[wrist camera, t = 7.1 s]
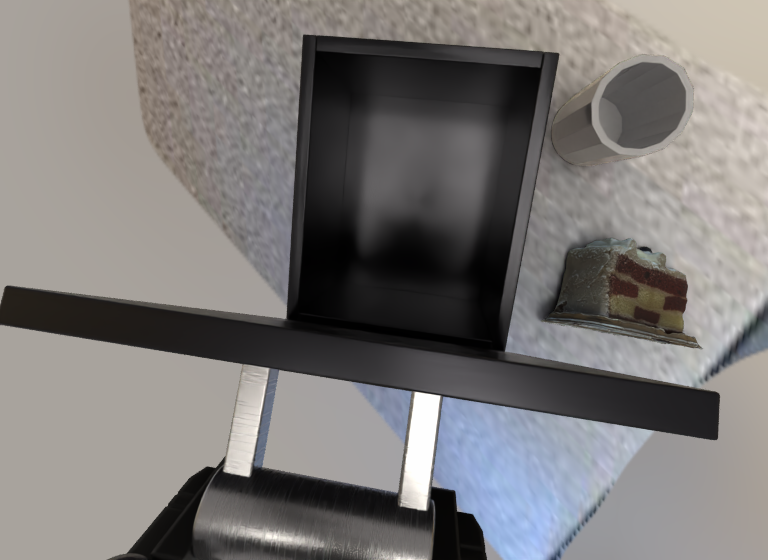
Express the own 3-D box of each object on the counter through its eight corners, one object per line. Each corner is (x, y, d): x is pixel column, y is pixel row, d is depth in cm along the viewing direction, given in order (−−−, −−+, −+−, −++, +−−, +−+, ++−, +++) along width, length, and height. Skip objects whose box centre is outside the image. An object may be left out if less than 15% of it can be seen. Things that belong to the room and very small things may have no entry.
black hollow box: (344, 83, 32) (302, 33, 22) (520, 98, 31) (560, 52, 21) (328, 287, 36) (285, 323, 26) (485, 308, 34) (504, 355, 24)
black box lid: (3, 284, 8) (-71, 568, 8) (721, 392, 7) (705, 751, 6) (284, 318, 26) (268, 407, 25) (506, 351, 24) (496, 446, 23)
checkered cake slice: (720, 262, 32) (679, 218, 24) (708, 352, 31) (662, 338, 23) (592, 258, 39) (529, 223, 31) (581, 331, 38) (513, 315, 31)
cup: (557, 89, 30) (601, 51, 22) (632, 96, 30) (706, 58, 22) (544, 162, 32) (581, 150, 23) (616, 169, 31) (680, 160, 23)
